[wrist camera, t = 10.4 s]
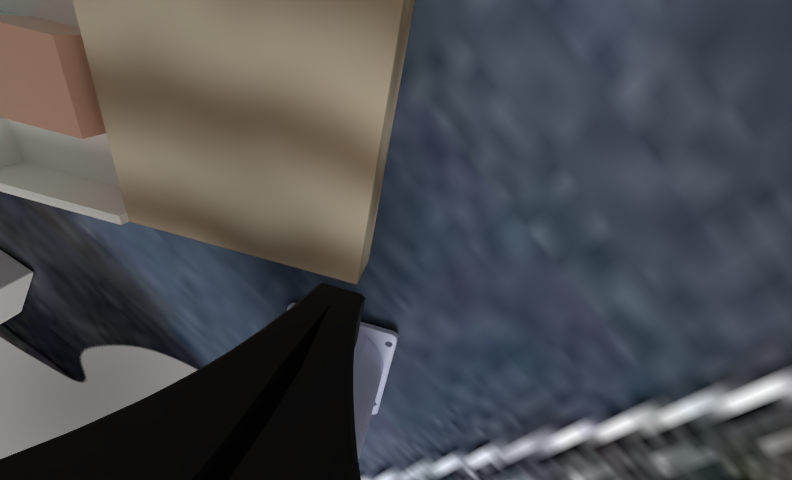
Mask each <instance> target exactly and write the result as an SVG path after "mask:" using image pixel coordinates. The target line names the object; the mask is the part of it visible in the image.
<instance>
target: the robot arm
mask: <svg viewBox="0 0 792 480" xmlns="http://www.w3.org/2000/svg"><path fill="white" fill-rule="evenodd" d="M364 301H365V298H364V296H363V295H362V294H359V293H356V292H352V291H349V290H345V289H341V288H338V287H334V286H331V285H327V284H324V283H321V284H319V285H317V286H316V287H315V288H314V289H313V290H312V291H311V292H309V293H308V294H307V295H306V296H305V297H303V298H302V299H301V300H300V301H299V302H297V303H291V304H289V306H288V307H287V311H286V312H285V313H283V314H282V315H281V316H279V317H278V318H277V319H275V320H274V321H273V322H271V323H270V324H269V325H267V326H266V327H265V328H263V329H262V330H260V331H259V332H257V333H256V334H254V335H253V336H252V337H250V338H249V339H247V340H246V341H244V342H243V343H241V344H240V345H238V346H237V347H235V348H234V349H232V350H231V351H229V352H227V353H226V354H224V355H223V356H221V357H219V358H218V359H216V360H214V361H213V362H211V363H209V364H208V365H206V366H204V367H202V368H201V369H199V370H197V371H196V372H194V373H192V374H190V375H188V376H187V377H185V378H183V379H181V380H179V381H177V382H175V383H174V384H171V385H170V386H168V387H166V388H164V389H162V390H160V391H158V392H156V393H154V394H152V395H150V396H148V397H146V398H144V399H142V400H140V401H138V402H136V403H134V404H131V405H129V406H127V407H125V408H122V409H120V410H118V411H116V412H114V413H111V414H109V415H107V416H105V417H103V418H100V419H98V420H96V421H94V422H92V423H90V424H87V425H85V426H83V427H80V428H78V429H76V430H73V431H71V432H69V433H66V434H64V435H61V436H59V437H56V438H54V439H51V440H48V441H46V442H43V443H41V444H38V445H36V446H33V447H31V448H28V449H26V450H23V451H21V452H18V453H15V454H13V455H11V456H8V457H5V458H3V459H0V480H361V479H360V471H359V463H358V461H359V458H360V454H361V450H362V447H363V443H364V439H365V436H366V432H367V429H368V425H369V421H370V418H371V414H377V413H378V409H379V406H380V402H381V398H382V395H383V391H384V387H385V384H386V380H387V376H388V373H389V369H390V365H391V362H392V358H393V354H394V351H395V347H396V343H397V340H398V335H397V333H396V332H394V331H392V330H389V329H385V328H382V327H378V326H375V325H371V324H368V323H364V322H361V317H362V311H363V306H364ZM387 341H388V342H387ZM389 342H391V343H389Z"/></svg>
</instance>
